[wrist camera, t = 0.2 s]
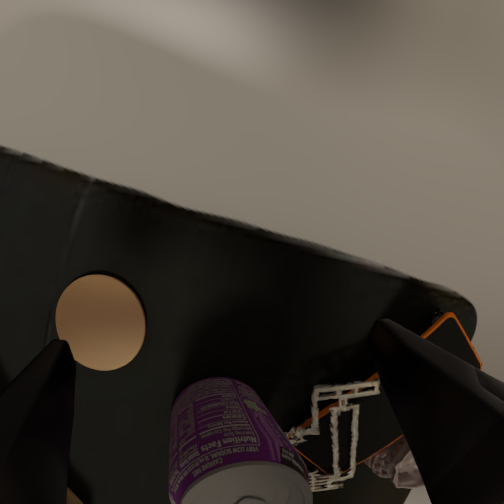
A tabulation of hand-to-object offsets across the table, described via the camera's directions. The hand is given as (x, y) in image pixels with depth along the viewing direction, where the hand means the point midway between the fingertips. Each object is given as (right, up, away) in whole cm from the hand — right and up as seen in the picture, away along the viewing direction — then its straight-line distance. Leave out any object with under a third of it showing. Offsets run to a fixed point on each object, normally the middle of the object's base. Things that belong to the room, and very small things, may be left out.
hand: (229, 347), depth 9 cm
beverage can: (-2, -10, +14) cm, 17 cm away
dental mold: (+15, -16, +12) cm, 25 cm away
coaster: (-10, -3, +13) cm, 17 cm away
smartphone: (+17, -5, +16) cm, 24 cm away
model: (+7, -13, +13) cm, 20 cm away
